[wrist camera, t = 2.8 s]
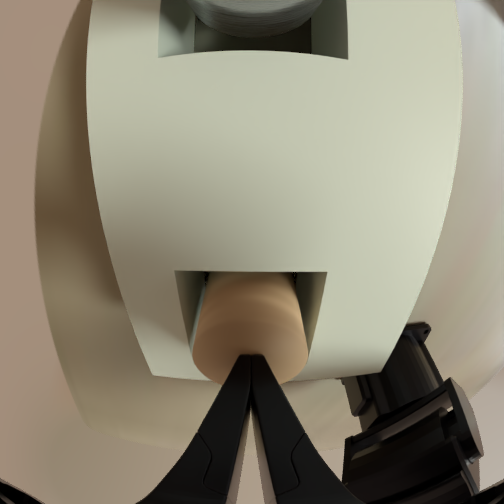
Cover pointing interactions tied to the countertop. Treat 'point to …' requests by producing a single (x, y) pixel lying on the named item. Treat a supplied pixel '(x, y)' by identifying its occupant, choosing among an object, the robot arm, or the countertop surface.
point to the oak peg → (250, 324)
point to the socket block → (275, 169)
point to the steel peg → (254, 15)
